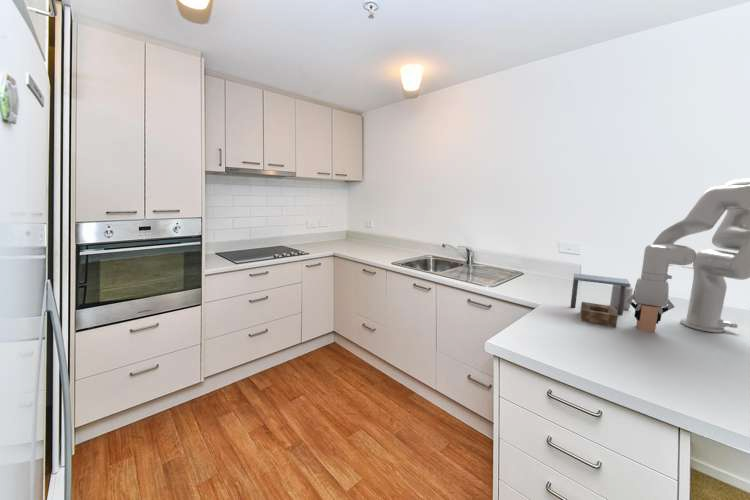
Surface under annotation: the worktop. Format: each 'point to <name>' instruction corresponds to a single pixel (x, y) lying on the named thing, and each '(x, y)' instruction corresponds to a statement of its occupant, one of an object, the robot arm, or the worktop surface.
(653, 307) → the peg
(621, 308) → the grey arch frame
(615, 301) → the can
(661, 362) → the worktop surface
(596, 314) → the socket block
